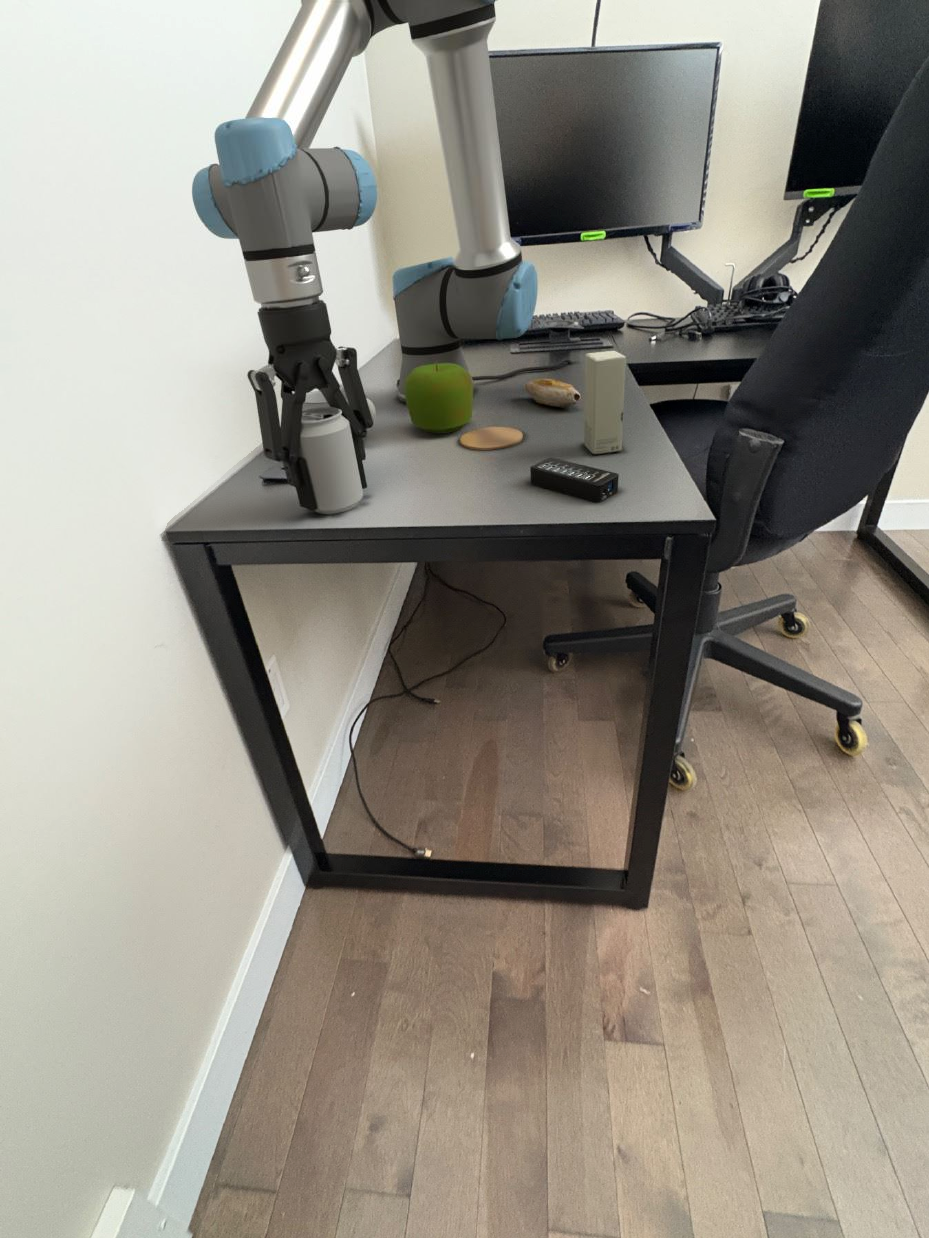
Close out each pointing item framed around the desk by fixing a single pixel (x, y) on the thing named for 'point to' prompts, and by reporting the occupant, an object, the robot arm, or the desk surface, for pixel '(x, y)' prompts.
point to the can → (330, 459)
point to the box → (604, 401)
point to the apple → (439, 397)
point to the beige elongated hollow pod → (552, 392)
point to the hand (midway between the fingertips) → (334, 496)
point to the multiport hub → (574, 479)
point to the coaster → (491, 438)
